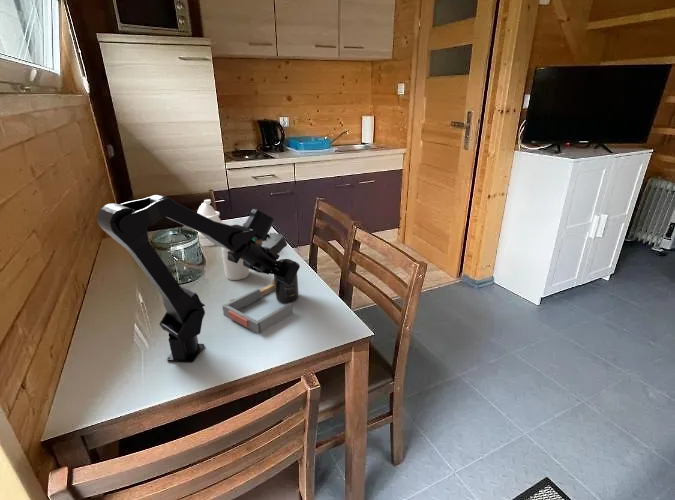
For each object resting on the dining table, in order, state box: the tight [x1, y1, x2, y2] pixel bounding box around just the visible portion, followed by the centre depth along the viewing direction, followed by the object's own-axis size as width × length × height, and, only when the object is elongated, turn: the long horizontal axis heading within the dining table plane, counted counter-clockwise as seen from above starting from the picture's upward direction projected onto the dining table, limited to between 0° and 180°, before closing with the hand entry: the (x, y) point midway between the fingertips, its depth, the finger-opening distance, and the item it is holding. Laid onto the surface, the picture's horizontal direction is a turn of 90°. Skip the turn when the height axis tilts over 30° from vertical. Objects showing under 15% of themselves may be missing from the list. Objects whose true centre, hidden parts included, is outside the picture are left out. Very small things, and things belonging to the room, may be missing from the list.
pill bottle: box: [220, 247, 250, 281], centre depth 126 cm, size 8×8×15 cm
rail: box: [229, 278, 275, 302], centre depth 114 cm, size 18×2×2 cm, turn 140°
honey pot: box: [196, 199, 223, 247], centre depth 158 cm, size 13×13×18 cm
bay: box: [222, 287, 294, 334], centre depth 105 cm, size 13×15×3 cm
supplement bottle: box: [273, 258, 300, 304], centre depth 111 cm, size 7×7×12 cm
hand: (287, 276), depth 111 cm, fingers closed on supplement bottle, 7 cm apart
